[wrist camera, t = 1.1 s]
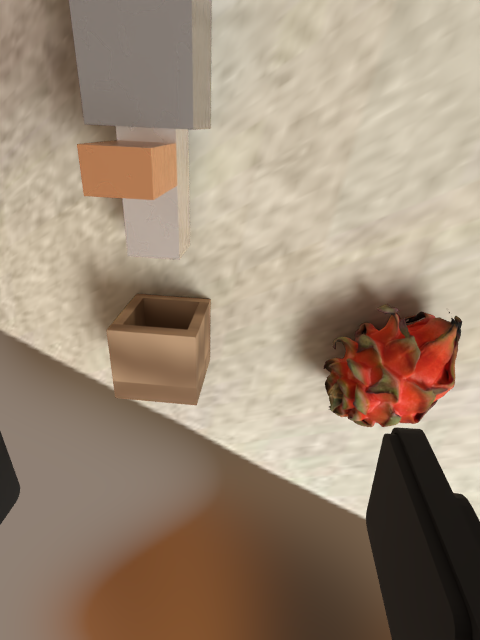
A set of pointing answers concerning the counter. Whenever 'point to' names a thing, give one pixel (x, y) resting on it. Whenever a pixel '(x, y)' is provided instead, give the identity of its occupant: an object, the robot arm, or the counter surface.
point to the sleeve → (144, 62)
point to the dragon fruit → (394, 369)
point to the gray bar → (144, 186)
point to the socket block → (160, 348)
